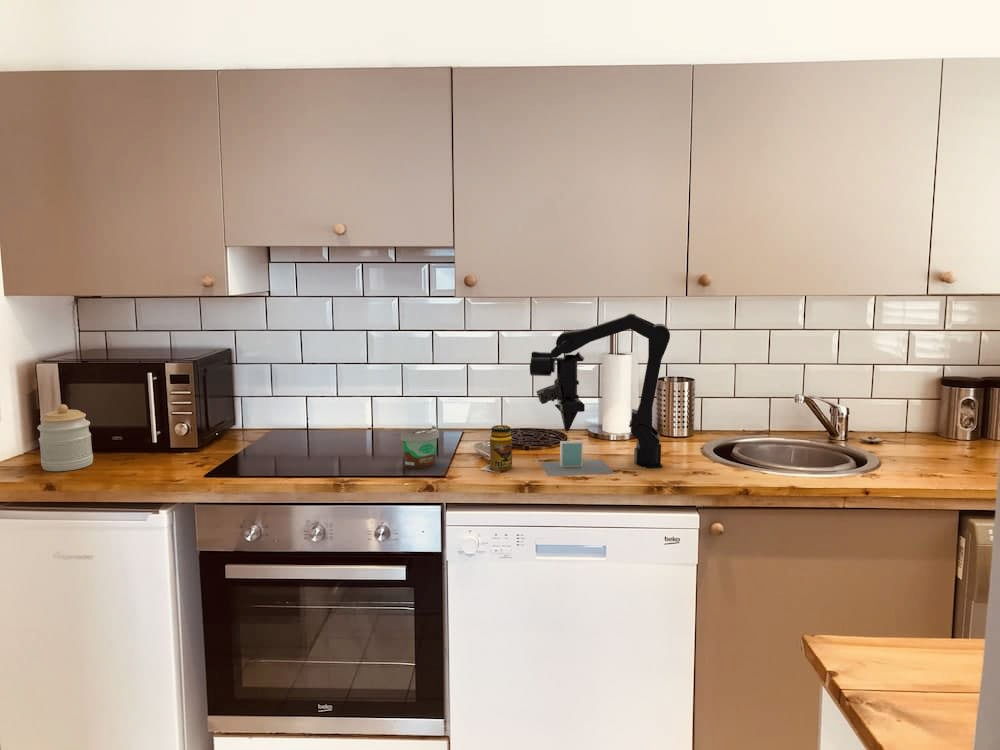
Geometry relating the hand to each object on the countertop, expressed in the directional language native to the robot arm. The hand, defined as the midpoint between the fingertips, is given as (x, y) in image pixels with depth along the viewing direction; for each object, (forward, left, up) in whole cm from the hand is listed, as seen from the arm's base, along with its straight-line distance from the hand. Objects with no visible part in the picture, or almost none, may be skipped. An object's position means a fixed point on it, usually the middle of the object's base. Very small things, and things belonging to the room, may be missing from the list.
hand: (566, 430), depth 225 cm
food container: (+40, -1, -9) cm, 41 cm away
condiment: (+20, +5, -9) cm, 23 cm away
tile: (0, +7, -8) cm, 11 cm away
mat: (-1, +9, -9) cm, 13 cm away
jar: (+140, -14, -9) cm, 141 cm away
